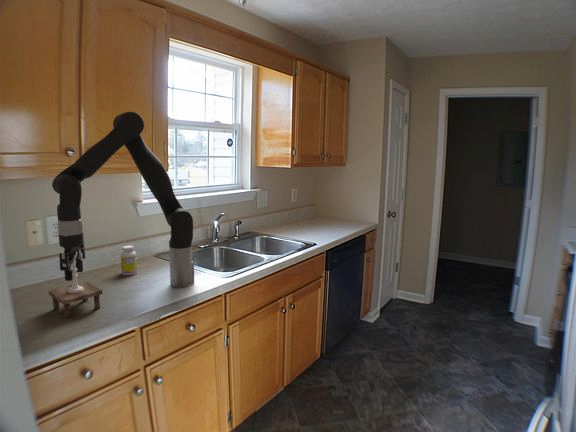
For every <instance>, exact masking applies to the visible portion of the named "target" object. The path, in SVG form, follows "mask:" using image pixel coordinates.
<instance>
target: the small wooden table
mask: <svg viewBox="0 0 576 432" xmlns="http://www.w3.org/2000/svg"><path fill="white" fill-rule="evenodd" d="M77 283H78V282H77ZM78 285H79V286H82V287H83V289H84V290H83V291H81V292H78V293H69V292H68V289H69V288H71V287H72V286H73V284H71V285H67V286H63V287H60V288H55V289H50V290H48V295H49V296H50V297H52V307H53V311H58V310H60V304H62V305H63V310H64V319H66V320H68V319H71V318H72V315H71V314H72V313H71V312H72V311H71V304H72V303H75V302H79V301H82V302H85V303H86V302H88V301H89V299H90V298H93V304H94V310H100V309H101V302H100V300H101V299H100V295H103V290H102V289H101V288H99V287H98V286H95V285H93V284H91V283H90V282H88V281H83V282H79V283H78Z"/></svg>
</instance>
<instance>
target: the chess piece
mask: <svg viewBox="0 0 576 432" xmlns="http://www.w3.org/2000/svg"><path fill="white" fill-rule="evenodd" d="M77 273H78V272H77V268H76V263H74V264H73V266H72V275H73V280H72V285H73V286H72V287H71V288H69V289H68V292H69V293H78V292H81V291H83V290H84V289H83V287H82V286H79V285H78V279H77V277H78V276H79V275H78V274H77Z"/></svg>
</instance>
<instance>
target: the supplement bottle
mask: <svg viewBox="0 0 576 432" xmlns="http://www.w3.org/2000/svg"><path fill="white" fill-rule="evenodd" d="M122 250H123V251H122V252H121V253H120V265H121V274H122V275H123V276H132V275H135V274H137V272H138V262H137V252H136V251H135V247H134V246H133V245H124V246H122Z"/></svg>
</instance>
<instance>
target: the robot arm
mask: <svg viewBox="0 0 576 432" xmlns="http://www.w3.org/2000/svg"><path fill="white" fill-rule="evenodd" d="M112 127H113V128H112V129H111V131H110V132H108V134H106V135H105V136H104V137H102V139H100V140H99V141H97V142H96V143H95V144H94V145H92V146H91V147H90V148H88V149H87V150H86V151H85V152H83V154H81V156H80V157H78V158H77V159H76V161H74V163H73V164H71V165H70V166H68V167H66V168H65V169H64V170H62V171H61V172H59V173H58V174H57V175H55V177H54V178H53V181H52V183H51V186H52V189H53V191H54V192H55V193H57V194H59V204H57V206H56V213H57V234H58V244H59V247H61V248H63V252H61V253H59V256H58V259H59V270H60V271H63V273H64V280H65V281H66V282H70V281H73V273H72V269H73V264H75V268H77V273H83V272H84V260H85V259H86V250H85V248H86V247H85V239H84V229H83V227H84V226H83V222H82V221H83V220H82V213H81V203H82V195H83V194H82V193H83V189H82V184H81V183H82V182H83V181H84V180H86V179H89V178H91V177H92V176H93V175H95V174H96V173H97V172H98V171H99V170H100V169H101V168H102V167H103V166H104V165H105V164H106V163H107V162H108V161H109V160H110V159H111V158H112V156H114V155H115V154H116V153H117V152H118V151H119V150H120V149H121V148H122V147H123V146H124V147H125V148H126V150H127V151H128V152H129V155H130V156H131V158H132V160H133V162H134V163H135V165H136V166H135V167H136V168H137V169H138V171H139V174H140V175H141V177H142V178H143V181H144V182H145V184H146V185H147V187H148V189H149V191H150V192H151V194H152V196H154V199H156V201H157V203H158V204H159V206H160V209H161V211H162V213H163V215H164V217H165V220H166V222H167V224H168V226H169V227H170V239H169V241H168V246H169V247H168V248H169V251H168V254H169V274H170V275H169V277H170V281H169V283H170V285H169V286H170V287H172V288H176V289H177V288H178V289H181V288H187V287H190V286H192V285H193V284H195V262H194V261H193V258H192V257H193V251H192V249H193V248H192V245H193V244H192V243H193V239H194V218H193V216H192V214H191V212H189V211H187V210H186V209H185V208H183V206H182V205H181V203H180V202H179V200H178V199H177V196H176V194H175V191H174V189H173V185H172V184H173V183H172V182H171V181H172V180H171V178H170V176H169V173H168V171H167V170H166V168H165V166H164V164H163V163H162V161H161V160H160V159H159V158H158V156H157V155H155V153H154V152H153V151H151V149H150V148H149V147H148V145H147V144H146V143H145V141H144V139H143V136H142V135H141V134H142V133H143V131H144V130H145V121H144V118H143V117H142V116H141V114H139V113H137V112H135V111H125V112H122V113H120V114H118V115H116V116H115V117H114V119H113V122H112Z"/></svg>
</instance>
